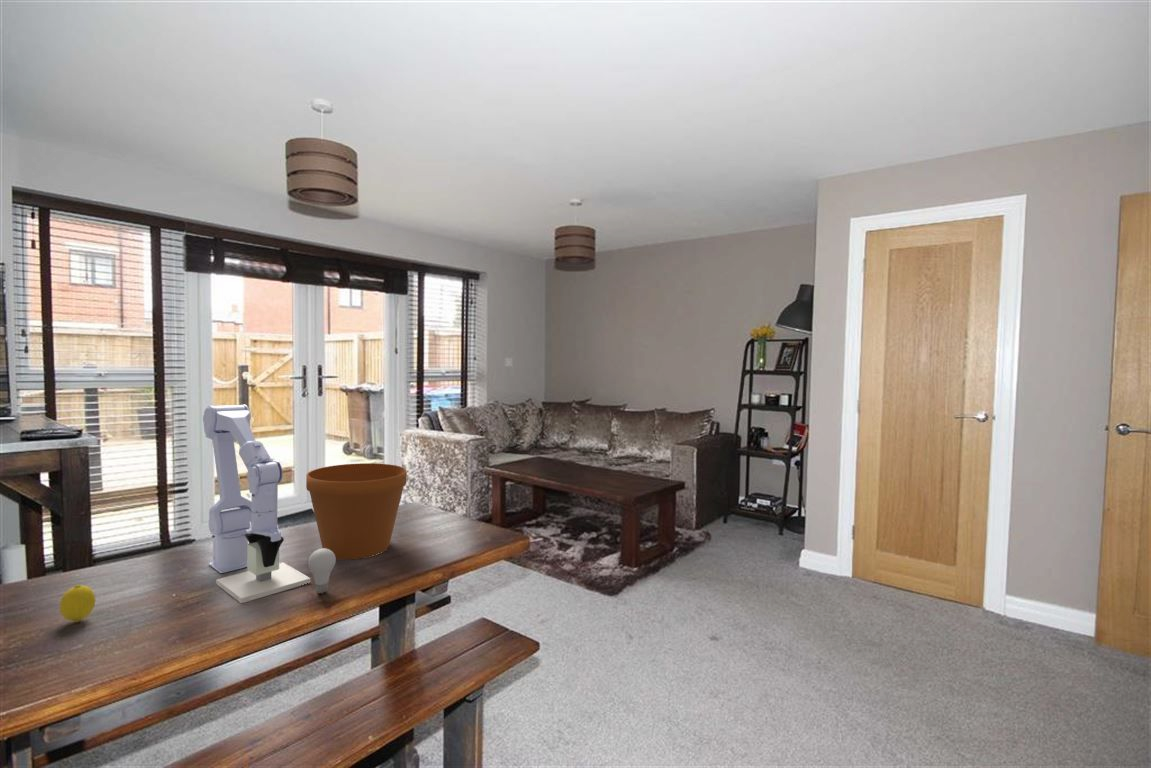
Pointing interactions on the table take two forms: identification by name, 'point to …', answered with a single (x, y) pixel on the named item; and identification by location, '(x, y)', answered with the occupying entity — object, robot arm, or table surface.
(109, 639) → the table surface
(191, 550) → the table surface
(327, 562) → the lightbulb
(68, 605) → the lemon
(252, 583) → the post board
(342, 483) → the flowerpot
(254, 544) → the pale green block
